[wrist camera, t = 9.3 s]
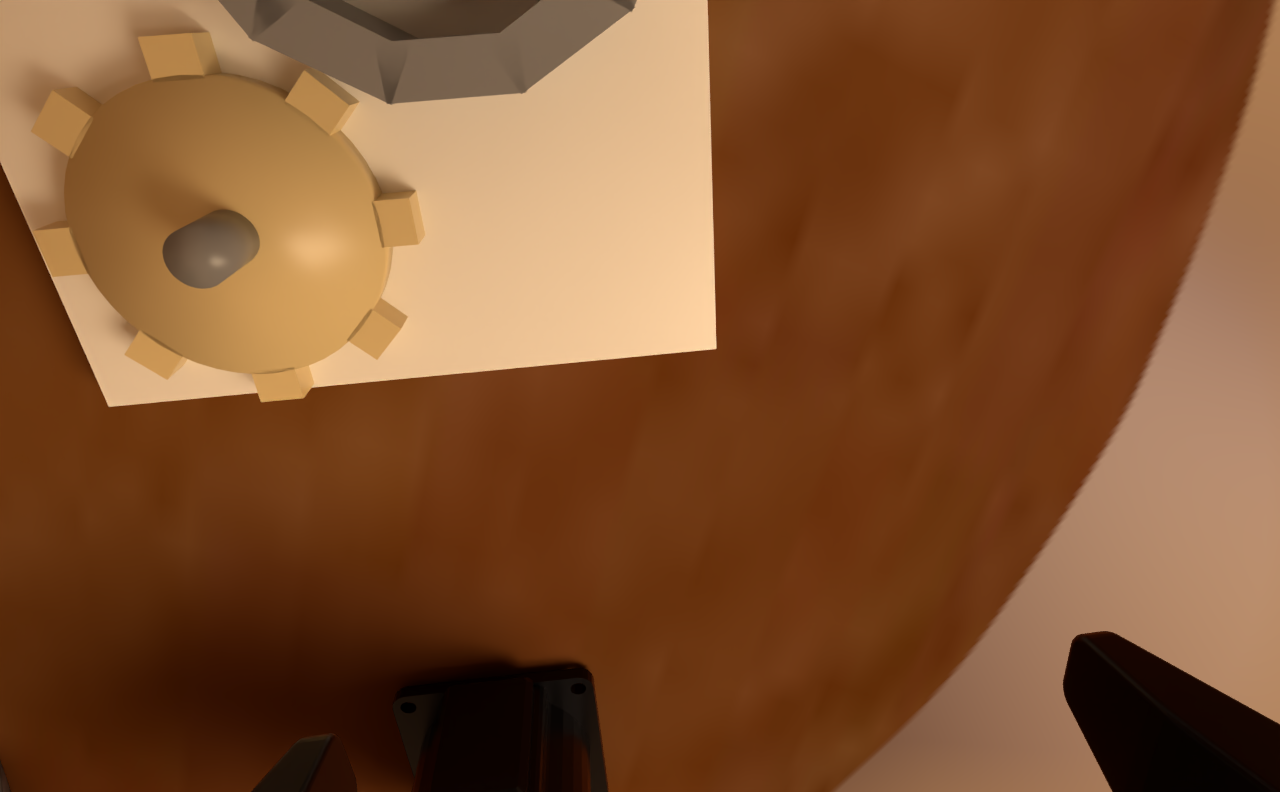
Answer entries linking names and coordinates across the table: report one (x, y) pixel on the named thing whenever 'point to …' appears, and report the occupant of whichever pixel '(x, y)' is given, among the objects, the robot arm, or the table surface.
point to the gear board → (361, 185)
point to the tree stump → (3, 781)
